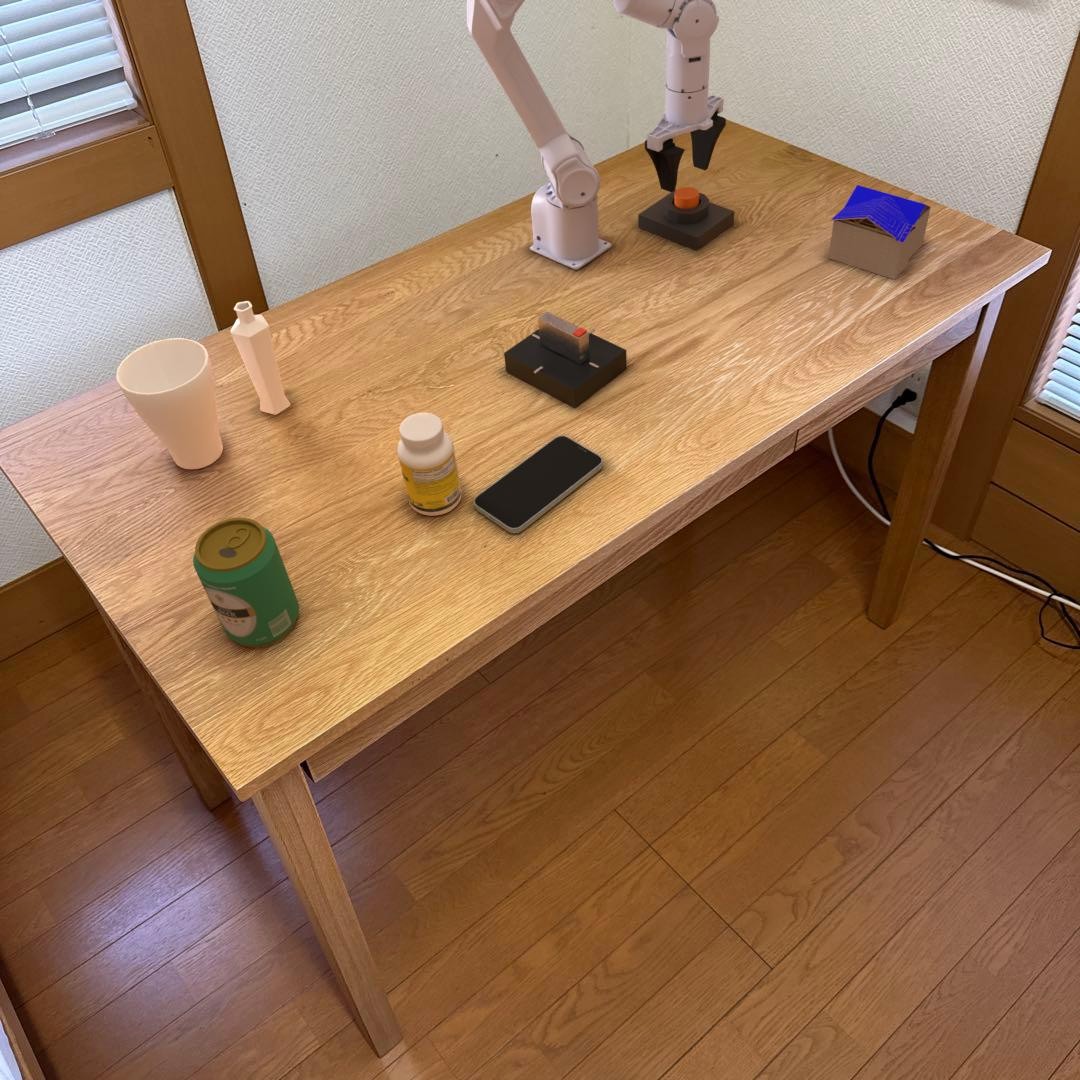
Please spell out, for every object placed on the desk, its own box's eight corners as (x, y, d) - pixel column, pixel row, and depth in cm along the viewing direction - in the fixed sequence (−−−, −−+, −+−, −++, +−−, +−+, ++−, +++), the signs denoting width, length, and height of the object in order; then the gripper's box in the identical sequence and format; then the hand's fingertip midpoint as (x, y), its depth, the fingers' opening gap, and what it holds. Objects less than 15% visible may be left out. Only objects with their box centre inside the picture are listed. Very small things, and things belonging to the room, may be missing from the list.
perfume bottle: (300, 397, 135) (270, 298, 124) (281, 418, 132) (248, 319, 121) (271, 390, 136) (239, 291, 125) (251, 410, 134) (217, 311, 123)
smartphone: (469, 501, 118) (560, 432, 125) (470, 506, 119) (561, 438, 126) (514, 532, 114) (606, 459, 121) (515, 537, 115) (607, 465, 122)
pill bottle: (412, 481, 123) (395, 408, 115) (464, 479, 122) (451, 406, 114) (405, 519, 118) (388, 446, 110) (460, 517, 118) (446, 444, 110)
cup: (167, 494, 124) (126, 406, 114) (147, 444, 131) (107, 356, 121) (251, 462, 127) (219, 373, 117) (228, 415, 133) (195, 327, 124)
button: (669, 205, 154) (669, 194, 153) (684, 195, 156) (684, 184, 154) (688, 212, 152) (689, 201, 151) (703, 202, 154) (704, 191, 153)
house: (895, 281, 143) (906, 229, 137) (825, 258, 148) (832, 207, 142) (929, 246, 148) (940, 194, 143) (860, 225, 153) (868, 174, 148)
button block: (638, 227, 157) (638, 203, 154) (675, 202, 161) (675, 178, 159) (697, 251, 152) (698, 226, 149) (733, 224, 156) (735, 199, 153)
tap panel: (502, 374, 135) (500, 354, 133) (560, 332, 140) (559, 313, 138) (572, 410, 129) (570, 390, 127) (629, 366, 134) (629, 346, 132)
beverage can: (210, 640, 108) (172, 563, 99) (251, 584, 113) (218, 506, 104) (276, 659, 106) (243, 582, 97) (315, 601, 111) (286, 522, 102)
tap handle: (540, 344, 134) (537, 316, 131) (549, 337, 135) (547, 309, 132) (580, 365, 130) (579, 337, 127) (590, 358, 131) (588, 330, 128)
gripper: (677, 111, 135) (675, 208, 144) (743, 71, 141) (737, 165, 151) (634, 98, 138) (635, 193, 148) (701, 59, 145) (698, 152, 155)
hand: (684, 178), depth 150 cm, fingers open, 7 cm apart
